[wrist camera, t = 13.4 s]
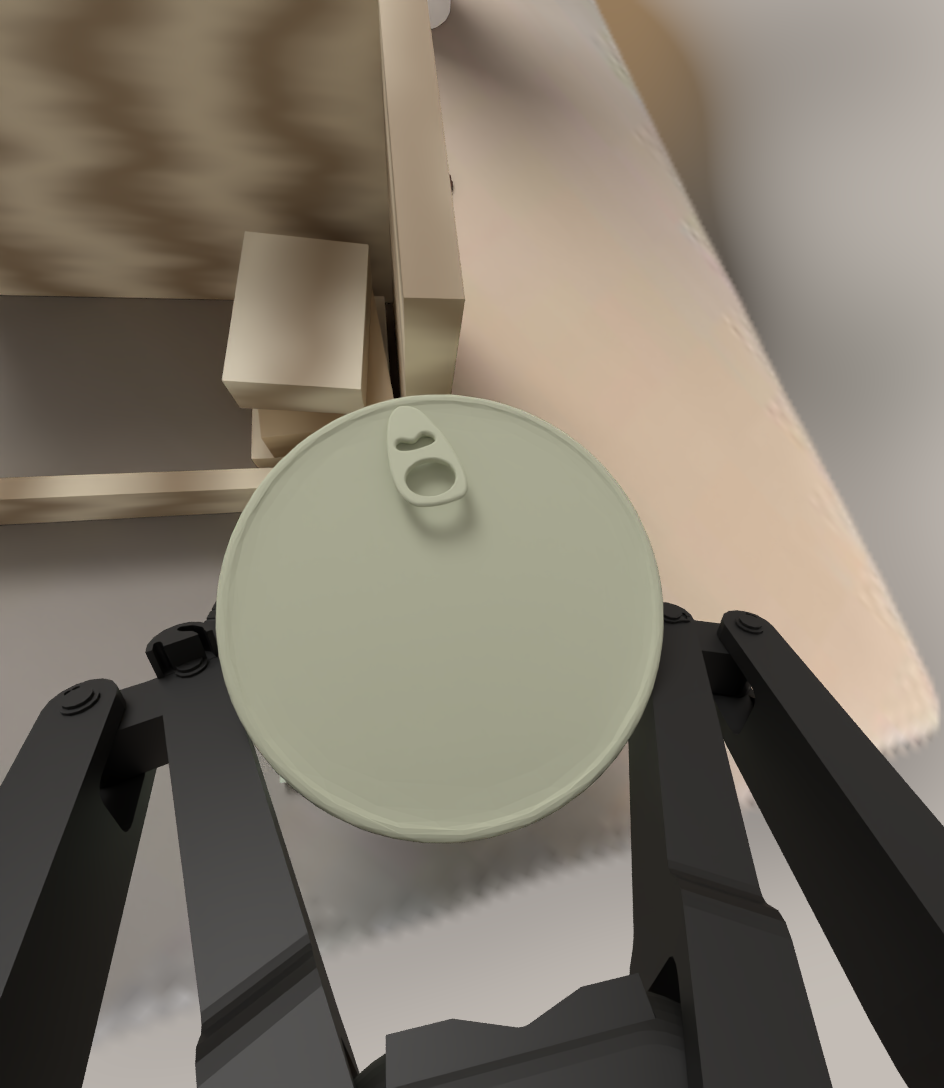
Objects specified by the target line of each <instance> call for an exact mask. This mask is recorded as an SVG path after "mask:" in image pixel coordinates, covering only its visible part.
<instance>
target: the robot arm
mask: <svg viewBox="0 0 944 1088" xmlns="http://www.w3.org/2000/svg"><path fill="white" fill-rule="evenodd" d="M216 602H217V601H216ZM216 602H215V604H214V606H213V608H212V611H210V613H209V615H208V617H207V621H205V622H204V623H202V622H187V623H183V624H179V625H175V626H173V627H171V628H168V629H166V630H164V631H162V632H161V633H159V634H158V635H156V636H155V637H154V638H153V639H152V640H151V641H150V642H149V644H148V645H147V648H146V652H145V653H146V655H147V657H148V659H149V661H150V663H151V665H152V667H153V669H154V671H155V673H156V676H157V678H155V679H153V680H150V681H147V682H144V683H141V684H138V685H135V686H131V687H128V688H125V689H122V690H119V688H118V686H117V685H116V684H115V683H114V682H113V681H112V680H108V679H103V678H102V679H94V680H88V681H85V682H82V683H79V684H76V685H74V686H72V687H70V688H68V689H66V690H64V691H62V692H61V693H60V694H58V695H57V696H56V697H54V698H53V699H52V700H50V701H49V702H48V704H47V705H46V706H45V707H44V709H43V710H42V711H41V713H40V715H39V716H38V718H37V720H36V722H35V724H34V726H33V728H32V729H31V731H30V733H29V735H28V737H27V739H26V740H25V742H24V744H23V746H22V748H21V750H20V751H19V753H18V755H17V757H16V759H15V761H14V762H13V764H12V766H11V768H10V770H9V772H8V774H7V775H6V777H5V779H4V781H3V783H2V785H1V786H0V1088H82V1084H83V1080H84V1076H85V1072H86V1067H87V1062H88V1059H89V1055H90V1050H91V1046H92V1042H93V1037H94V1033H95V1029H96V1025H97V1020H98V1016H99V1012H100V1008H101V1003H102V999H103V995H104V991H105V986H106V982H107V978H108V974H109V969H110V965H111V961H112V956H113V952H114V948H115V944H116V939H117V935H118V931H119V927H120V922H121V918H122V914H123V910H124V905H125V901H126V897H127V893H128V888H129V884H130V880H131V876H132V871H133V867H134V863H135V858H136V854H137V850H138V846H139V841H140V837H141V833H142V829H143V824H144V820H145V816H146V812H147V807H148V803H149V799H150V795H151V790H152V786H153V782H154V777H155V773H156V769H157V768H158V767H160V766H163V765H165V764H168V763H169V768H170V776H171V784H172V792H173V800H174V807H175V815H176V823H177V831H178V839H179V847H180V855H181V862H182V870H183V878H184V886H185V894H186V902H187V909H188V917H189V925H190V933H191V941H192V949H193V957H194V964H195V972H196V980H197V988H198V996H199V1004H200V1012H201V1023H202V1027H201V1028H202V1029H201V1036H200V1038H199V1041H198V1044H197V1046H196V1060H195V1067H196V1082H197V1088H832V1084H831V1080H830V1077H829V1073H828V1069H827V1066H826V1062H825V1058H824V1055H823V1051H822V1047H821V1044H820V1040H819V1037H818V1033H817V1030H816V1026H815V1022H814V1018H813V1015H812V1011H811V1008H810V1004H809V1000H808V997H807V993H806V989H805V986H804V982H803V978H802V975H801V971H800V968H799V964H798V960H797V957H796V953H795V950H794V946H793V942H792V939H791V936H790V933H789V931H788V928H787V925H786V922H785V921H784V919H783V918H782V916H781V914H780V913H779V911H778V910H776V909H775V908H773V907H771V906H770V905H768V904H767V903H766V902H765V900H764V898H763V897H762V894H761V891H760V888H759V884H758V880H757V876H756V871H755V867H754V863H753V859H752V855H751V851H750V847H749V843H748V839H747V835H746V830H745V827H744V822H743V818H742V814H741V810H740V806H739V802H738V798H737V794H736V789H735V785H734V781H733V777H732V773H731V769H730V765H729V761H728V757H727V753H726V749H725V744H724V741H725V743H726V745H727V747H728V749H729V751H730V753H731V755H732V757H733V759H734V761H735V763H736V764H737V766H738V768H739V770H740V772H741V774H742V776H743V778H744V780H745V782H746V784H747V786H748V788H749V789H750V791H751V793H752V795H753V797H754V799H755V801H756V803H757V805H758V807H759V809H760V811H761V813H762V814H763V816H764V818H765V820H766V822H767V824H768V826H769V828H770V830H771V831H772V834H773V836H774V837H775V839H776V841H777V843H778V845H779V847H780V849H781V851H782V853H783V855H784V857H785V859H786V861H787V862H788V864H789V866H790V868H791V870H792V872H793V874H794V876H795V878H796V880H797V882H798V884H799V886H800V887H801V889H802V891H803V893H804V895H805V897H806V899H807V901H808V903H809V905H810V907H811V909H812V911H813V912H814V914H815V916H816V918H817V920H818V922H819V924H820V926H821V928H822V930H823V932H824V934H825V935H826V937H827V939H828V941H829V943H830V945H831V947H832V949H833V951H834V953H835V955H836V957H837V959H838V961H839V962H840V964H841V966H842V968H843V970H844V972H845V974H846V976H847V978H848V980H849V982H850V983H851V986H852V987H853V989H854V991H855V993H856V995H857V997H858V999H859V1001H860V1003H861V1005H862V1006H863V1009H864V1011H865V1012H866V1014H867V1016H868V1018H869V1020H870V1022H871V1024H872V1025H873V1027H874V1029H875V1031H876V1033H877V1035H878V1036H879V1038H880V1040H881V1042H882V1044H883V1045H884V1047H885V1049H886V1050H887V1052H888V1054H889V1056H890V1058H891V1060H892V1061H893V1063H894V1065H895V1067H896V1068H897V1070H898V1072H899V1073H900V1075H901V1077H902V1078H903V1080H904V1081H905V1083H906V1084H907V1086H908V1087H909V1088H944V827H943V825H942V824H941V823H940V822H939V821H938V820H937V818H936V817H935V816H934V815H933V814H932V812H931V811H930V810H929V809H928V808H927V806H926V805H925V804H924V803H923V802H922V801H921V799H920V798H919V797H918V796H917V795H916V794H915V793H914V791H913V790H912V789H911V788H910V787H909V785H908V784H907V783H906V782H905V781H904V779H903V778H902V777H901V776H900V775H899V774H898V773H897V771H896V770H895V769H894V768H893V767H892V765H891V764H890V763H889V762H888V761H887V760H886V758H885V757H884V756H883V755H882V754H881V752H880V751H879V750H878V749H877V748H876V747H875V745H874V744H873V743H872V742H871V741H870V740H869V738H868V737H867V736H866V735H865V734H864V733H863V731H862V730H861V729H860V728H859V727H858V725H857V724H856V723H855V722H854V721H853V720H852V718H851V717H850V716H849V715H848V714H847V713H846V711H845V710H844V709H843V708H842V707H841V706H840V704H839V703H838V702H837V701H836V700H835V698H834V697H833V696H832V695H831V694H830V693H829V691H828V690H827V689H826V688H825V687H824V686H823V684H822V683H821V682H820V681H819V680H818V679H817V677H816V676H815V675H814V674H813V673H812V671H811V670H810V669H809V668H808V667H807V666H806V664H805V663H804V662H803V661H802V660H801V659H800V657H799V656H798V655H797V654H796V653H795V652H794V650H793V649H792V648H791V647H790V646H789V644H788V643H787V642H786V641H785V640H784V639H783V637H782V636H781V635H780V634H779V633H778V632H777V630H776V629H775V628H774V627H773V626H772V625H771V624H770V623H769V622H768V621H766V620H765V619H763V618H761V617H759V616H758V615H755V614H753V613H749V612H745V611H738V610H736V611H728V612H727V613H725V614H724V615H723V618H722V620H721V623H712V622H703V621H696V620H694V619H693V618H692V616H691V614H689V613H688V612H687V611H686V610H685V609H683V608H681V607H679V606H677V605H674V604H670V603H666V602H663V620H664V631H663V644H662V650H661V656H660V662H659V668H658V672H657V675H656V679H655V683H654V686H653V690H652V693H651V696H650V698H649V700H648V703H647V705H646V708H645V710H644V712H643V715H642V717H641V719H640V721H639V723H638V725H637V726H636V728H635V730H634V732H633V734H632V735H631V737H630V738H629V740H628V742H629V779H630V815H631V852H632V887H633V923H634V940H633V951H632V957H631V964H630V975H628V976H624V977H620V978H616V979H612V980H608V981H604V982H600V983H595V984H591V985H587V986H583V987H580V988H579V989H578V990H576V991H575V992H574V993H572V994H571V995H569V996H568V997H567V998H565V999H564V1000H562V1001H561V1002H559V1003H558V1004H557V1005H555V1006H554V1007H552V1008H551V1009H550V1010H548V1011H547V1012H545V1013H544V1014H543V1015H541V1016H540V1017H539V1018H537V1019H536V1020H534V1021H533V1022H532V1023H530V1024H529V1025H527V1026H524V1027H520V1028H518V1027H517V1028H516V1027H509V1026H502V1025H494V1024H487V1023H479V1022H472V1021H465V1020H458V1019H449V1020H445V1021H441V1022H437V1023H433V1024H430V1025H425V1026H421V1027H417V1028H413V1029H409V1030H405V1031H400V1032H397V1033H393V1034H388V1035H386V1054H384V1055H383V1056H381V1057H380V1058H378V1059H377V1060H375V1061H374V1062H372V1063H371V1064H370V1065H369V1066H368V1067H367V1068H366V1069H364V1070H363V1071H362V1072H361V1073H360V1074H359V1071H358V1068H357V1064H356V1061H355V1058H354V1055H353V1052H352V1049H351V1046H350V1043H349V1040H348V1037H347V1034H346V1031H345V1028H344V1025H343V1023H342V1020H341V1017H340V1014H339V1011H338V1008H337V1005H336V1002H335V999H334V995H333V992H332V989H331V986H330V983H329V980H328V977H327V974H326V970H325V967H324V964H323V961H322V958H321V955H320V952H319V948H318V945H317V942H316V939H315V936H314V933H313V930H312V926H311V923H310V920H309V917H308V914H307V911H306V908H305V905H304V901H303V898H302V895H301V892H300V889H299V886H298V883H297V879H296V876H295V873H294V870H293V867H292V864H291V861H290V858H289V854H288V851H287V848H286V845H285V842H284V839H283V836H282V832H281V829H280V826H279V823H278V820H277V817H276V814H275V811H274V807H273V804H272V801H271V798H270V795H269V792H268V789H267V785H266V782H265V779H264V776H263V773H262V770H261V767H260V764H259V760H258V757H257V754H256V751H255V748H254V745H253V742H252V740H251V738H250V737H249V735H248V733H247V731H246V730H245V728H244V726H243V724H242V723H241V721H240V719H239V717H238V715H237V713H236V711H235V708H234V706H233V704H232V702H231V699H230V696H229V693H228V690H227V687H226V684H225V681H224V677H223V673H222V668H221V664H220V660H219V654H218V645H217V636H216ZM751 687H752V688H751ZM752 689H753V690H752ZM723 739H724V740H723Z"/></svg>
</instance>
